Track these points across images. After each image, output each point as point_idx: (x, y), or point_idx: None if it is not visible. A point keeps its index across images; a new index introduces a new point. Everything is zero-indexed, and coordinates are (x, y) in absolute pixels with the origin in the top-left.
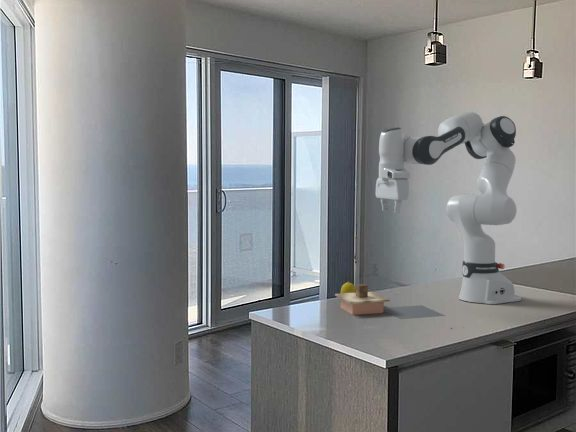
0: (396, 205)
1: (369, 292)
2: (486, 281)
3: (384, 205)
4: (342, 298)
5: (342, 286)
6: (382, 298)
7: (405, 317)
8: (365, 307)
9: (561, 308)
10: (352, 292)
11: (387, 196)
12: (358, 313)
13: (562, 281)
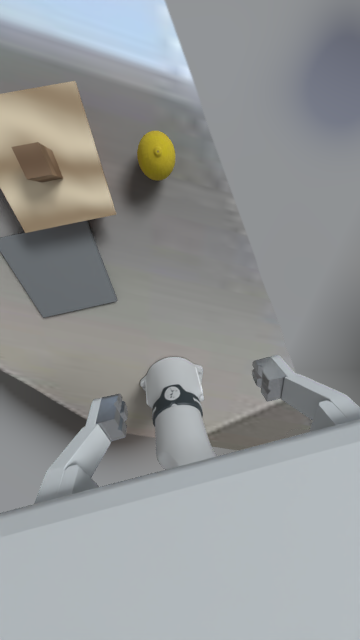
0: (68, 451)
1: (103, 203)
2: (147, 400)
3: (288, 388)
4: (14, 92)
5: (154, 132)
6: (34, 218)
7: (8, 252)
8: None
9: None
10: (139, 164)
11: (182, 496)
12: None
13: (243, 446)
